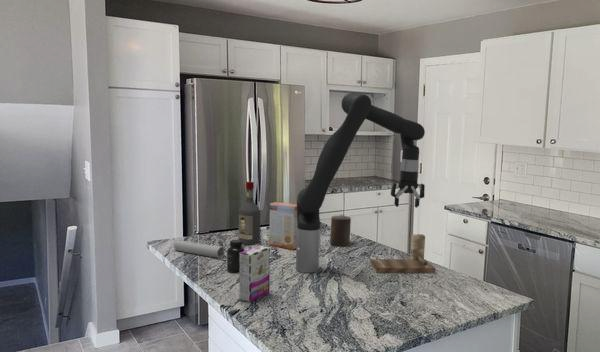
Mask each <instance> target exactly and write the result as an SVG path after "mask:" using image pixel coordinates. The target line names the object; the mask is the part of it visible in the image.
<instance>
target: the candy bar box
mask: <svg viewBox="0 0 600 352" xmlns="http://www.w3.org/2000/svg"><path fill="white" fill-rule="evenodd" d="M270 252H271V247H269V246H263V245H257V246H254V247H251V248H249V249H246V250H245V251H243V252H240V253H239V258H240V259H239V261H240V272H239V300H241V301H244V302H248V303H252V302H254V301H256V300H258V299H260V298H263V297H265V295H268V294H270V273H271V272H270V255H271V253H270Z"/></svg>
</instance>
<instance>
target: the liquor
mask: <svg viewBox="0 0 600 352" xmlns="http://www.w3.org/2000/svg"><path fill="white" fill-rule="evenodd" d="M254 183H255V182H254V181H245V188H246V191H245V192H246V193H245V194H246V195H245V202H243V204H242V205H241V206H240V207H239V210H238V240H242V245H245V246H253V245H257V244H260V241H261V235H260V234H261V209H260V207H259V205H257V204H256V203H255V200H254V186H255V185H254Z"/></svg>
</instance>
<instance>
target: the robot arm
mask: <svg viewBox="0 0 600 352" xmlns="http://www.w3.org/2000/svg"><path fill="white" fill-rule="evenodd" d="M341 109H342V110H343V112H344V113H345V114H346V117H345V118H344V120H343V123H342V124H341V125H340V127H339V128H337V130H335V132H334V133H333V134H331V136H330V137H329V138H328V139H327V140H326V142H325V143H324V146H323V148H322V149H321V152H320V154H319V157H318V160H317V164H316V167H315V170H314V174H313V176H312V179H311V180H310V182H309V184H308V185H307V187H305V188H302V189H301V190H300V191H299V193H298V195H297V198H296V199H297V200H296V205H297V245H296V249H295V269H296V272H298V273H299V272H301V273H307V274H310V273H317V272H319V270H320V269H319V268H320V243H321V218H320V209H321V208H322V206H323V204H324V200H325V197H326V194H327V192H328V190H329V187H330V184H331V183H332V181H333V180H334V178H335V176H336V174H337V172H338V170H339V169H340V167H341V166H342V163H343V161H344V159H345V157H346V155H347V153H348V151H349V149H350V147H351V145H352V142H354V139H355V137H356V135H357V133H358V131H359V130H360V128H361V127H362V125H363V124H364V122H365V120H367V121H370V122H372V123H374V124H375V125H378V126H379V127H382V128H384V129H386V130H388V131H390V132H393V133H394V134H399V137H400V141H401V148H402V155H401V162H400V175H399V182H391V190H390V196H391V197H394V202H393V203H394V205H395V207H397V208H398V207H399V204H400V203H399V202H400V196H402V195H403V194H413V196H414V197H415V198H414V207H415V208H419V206H420V200H421V199H424V198H425V187H426V185H425V184H424V183H418V179H419V168H420V164H419V162H420V161H419V160H420V159H419V157H420V148H419V147H418V146H417V145H415V141H419V140H422V139H423V138H424V136H425V133H426V131H425V128H424V127H423V125H422V124H421V123H418V122H416V121H412V120H409V119H407V118H404V117H402V116H400V115H398V114H396V113H394V112H391V111H389V110H386V109H383V108H380V107H378V106H375V105H374V104H372V100H371V98H370V96H368V95H367V94H363V93H358V92H350V93H347V94H346V95H344V96H343V97H342V100H341ZM398 187H399V189H398V190H397V192H396V189H397V188H398ZM418 188H419V193H418V191H417V189H418Z"/></svg>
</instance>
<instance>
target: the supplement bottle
mask: <svg viewBox="0 0 600 352" xmlns="http://www.w3.org/2000/svg"><path fill="white" fill-rule="evenodd" d="M226 251H227V253H226V254H227V255H226V261H227V262H226V269H227V272H228V273H229V272H230V273H233V274H234V273H235V274H236V273H238V274H239V273H240V261H239V259H240V258H239V253H240V252H243V251H246V250H245V248H244V247H243V244H242V240H239V239H231V240H230V241H229V247H228V248H227V250H226Z"/></svg>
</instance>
